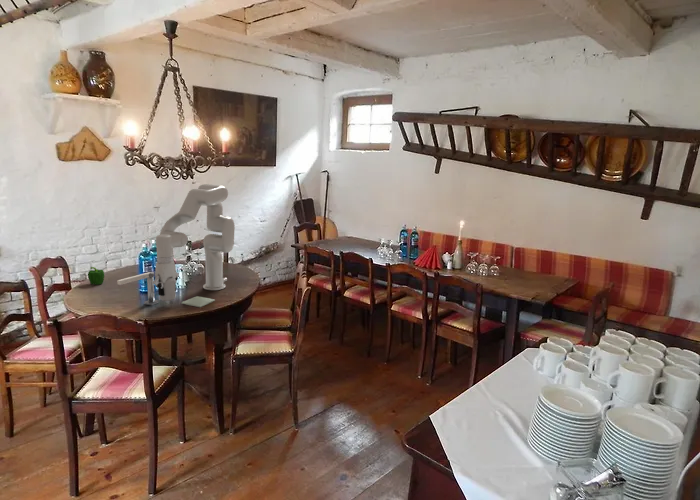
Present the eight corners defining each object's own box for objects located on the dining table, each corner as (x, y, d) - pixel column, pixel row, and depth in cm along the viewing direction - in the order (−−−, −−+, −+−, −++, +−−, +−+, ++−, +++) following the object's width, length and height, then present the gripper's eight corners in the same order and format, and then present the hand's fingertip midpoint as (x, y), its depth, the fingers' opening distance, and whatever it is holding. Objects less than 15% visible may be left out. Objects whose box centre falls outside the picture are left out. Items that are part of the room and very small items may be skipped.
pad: (196, 297, 245) (196, 296, 245) (215, 300, 241) (215, 299, 241) (181, 303, 234) (181, 302, 234) (200, 307, 230) (200, 306, 230)
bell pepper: (108, 282, 264) (107, 265, 262) (99, 286, 256) (98, 269, 254) (94, 281, 264) (93, 264, 262) (85, 285, 256) (84, 268, 254)
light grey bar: (150, 274, 232) (150, 271, 231) (155, 276, 230) (155, 272, 230) (116, 284, 214) (115, 280, 214) (121, 285, 213) (121, 281, 212)
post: (151, 301, 236) (150, 275, 233) (159, 302, 234) (157, 276, 231) (144, 304, 231) (142, 277, 228) (151, 305, 229) (150, 279, 226)
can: (177, 296, 233) (176, 274, 230) (172, 301, 225) (171, 279, 223) (163, 296, 232) (161, 274, 230) (157, 301, 225) (156, 278, 222)
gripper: (172, 254, 233) (173, 287, 237) (146, 262, 217) (148, 297, 222) (183, 256, 231) (185, 289, 235) (158, 264, 215) (160, 299, 219)
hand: (167, 292), depth 228 cm, fingers closed on can, 7 cm apart
